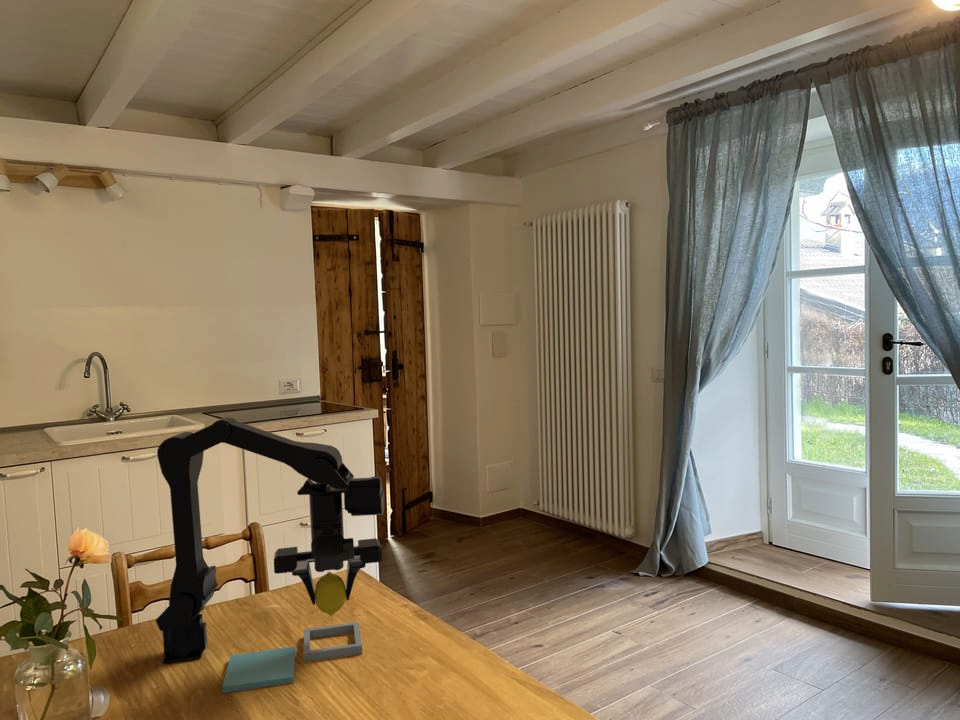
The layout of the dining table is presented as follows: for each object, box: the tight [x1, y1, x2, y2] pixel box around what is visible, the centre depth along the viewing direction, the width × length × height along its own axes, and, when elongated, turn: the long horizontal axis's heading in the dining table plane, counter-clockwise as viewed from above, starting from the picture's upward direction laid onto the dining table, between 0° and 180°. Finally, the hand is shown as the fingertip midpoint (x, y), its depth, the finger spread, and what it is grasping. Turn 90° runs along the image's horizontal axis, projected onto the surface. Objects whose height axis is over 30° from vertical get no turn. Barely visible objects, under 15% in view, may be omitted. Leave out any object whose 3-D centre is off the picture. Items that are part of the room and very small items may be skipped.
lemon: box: [314, 571, 346, 617], centre depth 125 cm, size 6×6×8 cm
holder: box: [303, 621, 363, 663], centre depth 126 cm, size 10×10×2 cm
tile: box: [221, 645, 297, 694], centre depth 117 cm, size 11×11×1 cm
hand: (330, 601), depth 125 cm, fingers closed on lemon, 5 cm apart
